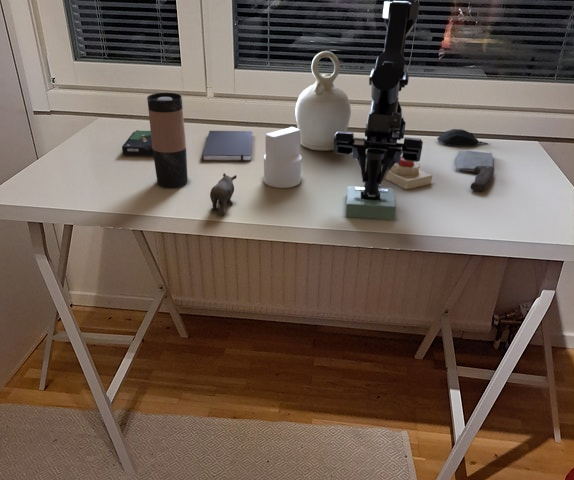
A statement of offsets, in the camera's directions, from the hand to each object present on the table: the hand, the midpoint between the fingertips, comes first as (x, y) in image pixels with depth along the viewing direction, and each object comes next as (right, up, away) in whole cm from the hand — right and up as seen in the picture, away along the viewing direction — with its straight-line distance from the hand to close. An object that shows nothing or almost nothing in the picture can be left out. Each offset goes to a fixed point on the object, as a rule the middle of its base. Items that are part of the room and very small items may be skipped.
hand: (371, 182), depth 118 cm
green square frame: (0, -5, +5) cm, 7 cm away
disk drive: (-57, +16, +35) cm, 69 cm away
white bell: (-8, +19, +42) cm, 46 cm away
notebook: (-34, +17, +37) cm, 53 cm away
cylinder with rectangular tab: (-19, +4, +17) cm, 26 cm away
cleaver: (+31, +8, +26) cm, 41 cm away
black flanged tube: (0, -5, +5) cm, 7 cm away
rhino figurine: (-32, -4, +5) cm, 33 cm away
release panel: (+11, +5, +20) cm, 23 cm away
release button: (+11, +8, +18) cm, 23 cm away
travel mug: (-46, +3, +15) cm, 48 cm away
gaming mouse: (+34, +20, +45) cm, 60 cm away
